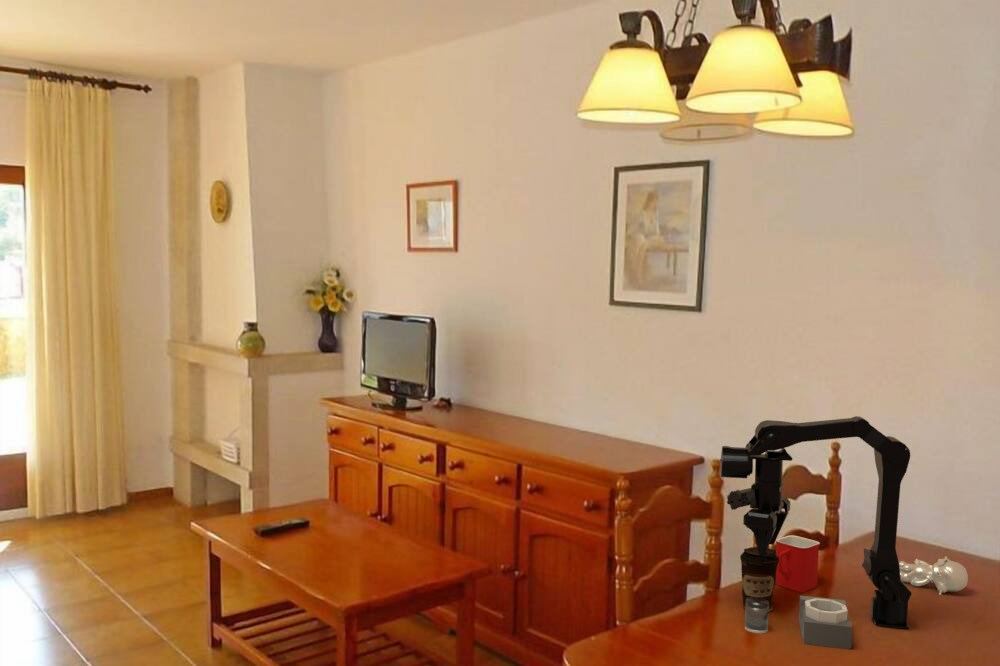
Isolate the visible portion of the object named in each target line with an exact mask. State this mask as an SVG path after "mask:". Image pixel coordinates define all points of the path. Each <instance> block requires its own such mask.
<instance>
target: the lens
mask: <svg viewBox="0 0 1000 666" xmlns="http://www.w3.org/2000/svg"><path fill="white" fill-rule="evenodd" d="M744 609H745V613H744V630H746V631H747V632H749V633H753V634H766V633H767V632H768V631H769V628H768V627H769V611H768V609H769V602H768V600H766V599H763V598H759V597H749V598H747V599H746V608H744Z"/></svg>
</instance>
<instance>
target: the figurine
mask: <svg viewBox="0 0 1000 666" xmlns="http://www.w3.org/2000/svg"><path fill="white" fill-rule="evenodd" d="M899 567H900V577H901V581H902V582H903V583H910V585H911V586H913V587H922V586H925V585H927V584H929V583H930V584H934V585H935V587H936V588H937V591H938V595H939V596H942V595H943V594H945V593H946V592H960V591H961V590H964V589H965V588H966V586H967V585H968V580H969V575H968V571H967V569H966V568H965V567H964V566H963V565H962V564H961V563H960V562H957V561H953V560H951V559H949V558H948V556H944V558H938V560H937V562H935V563H934V564H930V563H928V562H926V561H924V560H920V559H919V558H915V560H914V563H907V562H906V561H903V560H900V561H899Z"/></svg>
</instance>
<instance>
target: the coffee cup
mask: <svg viewBox="0 0 1000 666" xmlns="http://www.w3.org/2000/svg"><path fill="white" fill-rule="evenodd" d="M739 558H740V564H741V567H740V568H741V581H742V582H741V583H742V584H741V585H742V586H741V588H742V589H741V594H742V607H743V609H746V599H747V598H749V597H759V598H763V599H766V600H768V602H769V609H768V612H771V611H773V598H774V590H775V588H776V584H775V582H776V571H777V565H778V563H779V557H778V556H777V555H776V549H771V548H769V547H768V548H767V551H766V553H765V555H764V556H761V555H759V552H758V548H757V546H754V547H753V546H751V547H748V548H744V549H743V552H742V553H741V554H740V556H739Z"/></svg>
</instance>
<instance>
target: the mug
mask: <svg viewBox="0 0 1000 666" xmlns="http://www.w3.org/2000/svg"><path fill="white" fill-rule="evenodd" d="M775 543H776V546H775V547H776V549H775V551H776V555H777V556H778V557H779V563H778V565H777V571H776V582H775V586H779V587H781V588H785V589H788V590H791V591H794V592H798V593H805V592H807V591H810V590H813V589H815V588H817V586H818V574H819V573H818V569H819V552H820V551H819V550H820V544H821V542H819V541H817V540H813V539H809V538H806V537H802V536H798V535H793V534H792V535H787V536H783V537H780V538H777V539H776V541H775Z"/></svg>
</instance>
